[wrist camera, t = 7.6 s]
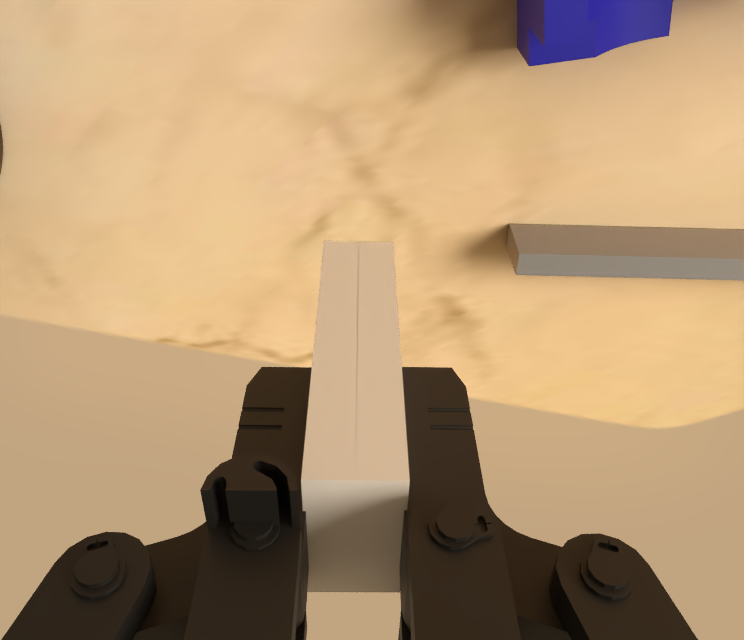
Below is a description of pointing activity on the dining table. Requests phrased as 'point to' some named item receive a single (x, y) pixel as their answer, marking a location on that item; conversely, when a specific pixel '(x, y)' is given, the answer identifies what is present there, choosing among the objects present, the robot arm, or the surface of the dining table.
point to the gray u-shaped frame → (626, 251)
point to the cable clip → (586, 27)
